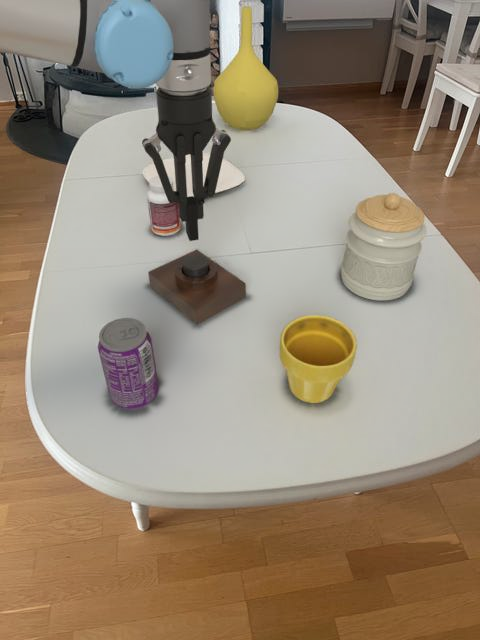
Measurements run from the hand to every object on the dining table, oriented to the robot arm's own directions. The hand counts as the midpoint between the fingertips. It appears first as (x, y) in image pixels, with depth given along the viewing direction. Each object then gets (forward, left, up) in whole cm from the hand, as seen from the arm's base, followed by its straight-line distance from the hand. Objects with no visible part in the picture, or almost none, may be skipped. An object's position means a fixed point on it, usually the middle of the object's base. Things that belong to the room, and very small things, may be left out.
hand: (192, 235), depth 86 cm
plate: (-35, +26, -12) cm, 45 cm away
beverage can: (+13, -21, -12) cm, 28 cm away
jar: (+19, +27, -12) cm, 35 cm away
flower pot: (+29, -1, -12) cm, 32 cm away
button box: (0, 0, -12) cm, 12 cm away
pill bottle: (-21, +8, -12) cm, 26 cm away
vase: (-53, +59, -12) cm, 80 cm away
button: (0, 0, -7) cm, 7 cm away
